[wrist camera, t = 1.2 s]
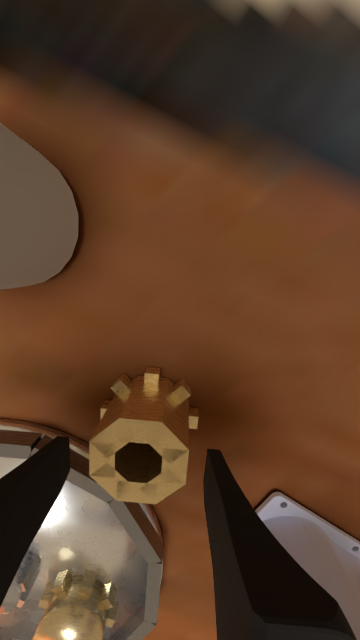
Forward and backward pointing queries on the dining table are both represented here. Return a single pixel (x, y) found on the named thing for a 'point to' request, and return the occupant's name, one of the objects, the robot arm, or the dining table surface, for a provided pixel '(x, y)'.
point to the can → (32, 215)
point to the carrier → (81, 555)
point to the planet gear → (143, 438)
